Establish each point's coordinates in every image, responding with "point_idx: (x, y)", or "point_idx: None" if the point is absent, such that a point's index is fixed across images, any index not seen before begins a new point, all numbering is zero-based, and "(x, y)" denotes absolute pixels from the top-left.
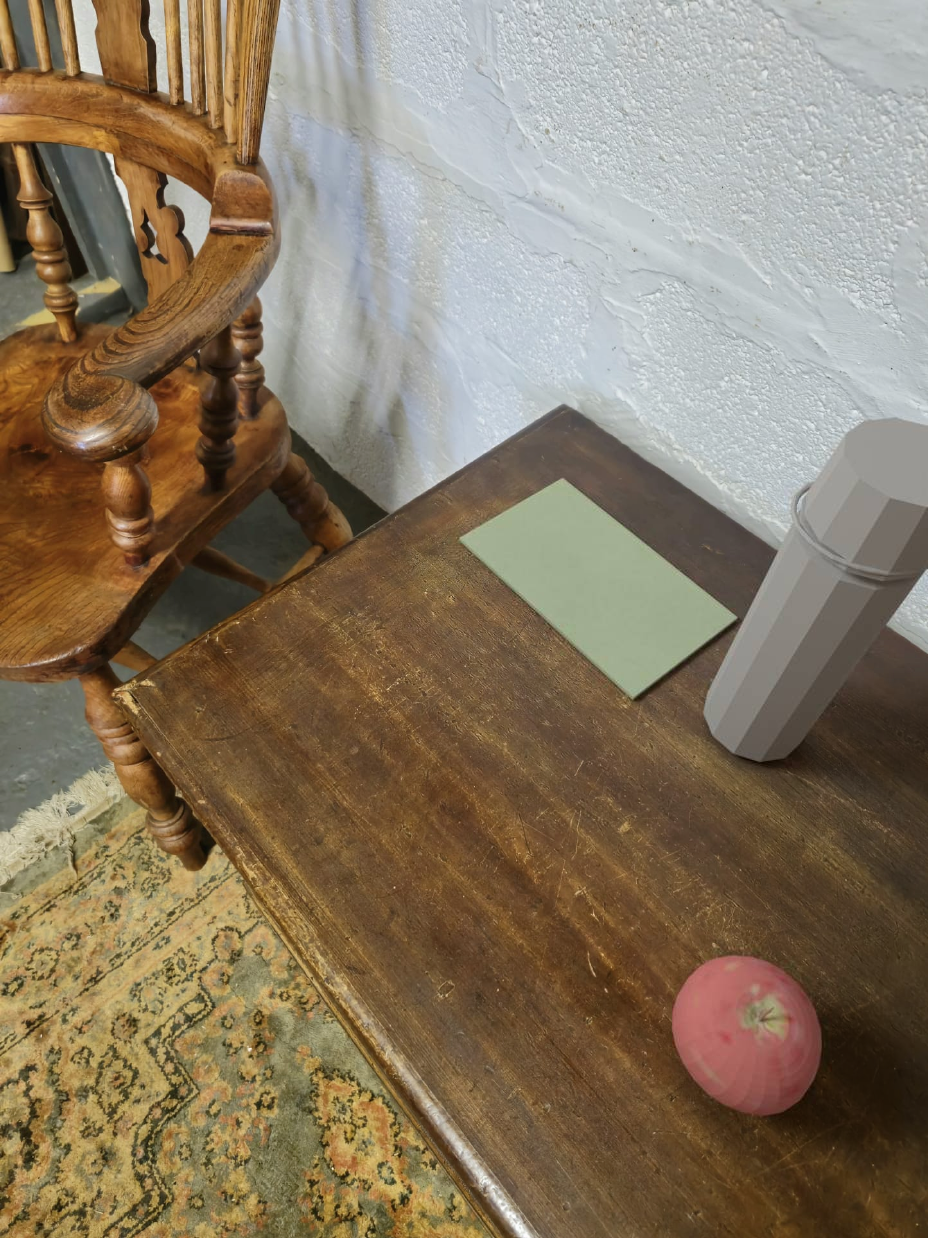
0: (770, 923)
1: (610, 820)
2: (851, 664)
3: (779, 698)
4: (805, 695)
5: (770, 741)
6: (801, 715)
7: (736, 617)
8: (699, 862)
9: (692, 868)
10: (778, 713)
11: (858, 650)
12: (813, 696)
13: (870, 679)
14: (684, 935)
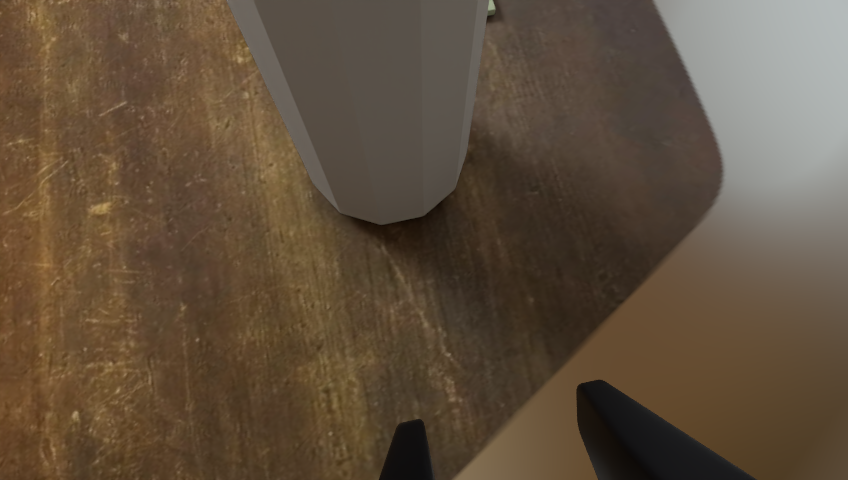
0: (172, 431)
1: (91, 191)
2: (343, 59)
3: (279, 98)
4: (297, 106)
5: (326, 184)
6: (337, 154)
7: (493, 8)
8: (153, 301)
9: (137, 304)
10: (298, 132)
11: (324, 12)
12: (320, 117)
13: (627, 180)
14: (50, 381)
